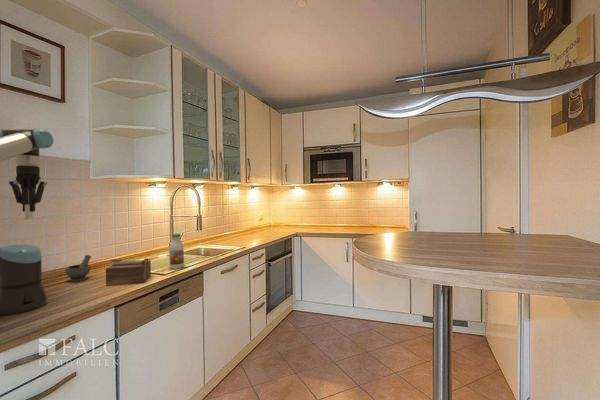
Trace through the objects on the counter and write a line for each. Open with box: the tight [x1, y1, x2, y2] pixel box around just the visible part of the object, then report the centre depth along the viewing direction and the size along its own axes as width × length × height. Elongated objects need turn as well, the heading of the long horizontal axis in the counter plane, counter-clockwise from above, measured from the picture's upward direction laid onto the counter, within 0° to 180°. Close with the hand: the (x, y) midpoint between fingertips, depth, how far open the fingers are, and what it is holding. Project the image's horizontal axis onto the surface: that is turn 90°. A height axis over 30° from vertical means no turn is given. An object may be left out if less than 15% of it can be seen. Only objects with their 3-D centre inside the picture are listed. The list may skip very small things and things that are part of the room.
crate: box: [105, 258, 152, 287], centre depth 143 cm, size 14×17×10 cm
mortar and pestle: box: [65, 254, 92, 283], centre depth 145 cm, size 11×9×12 cm
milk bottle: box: [168, 233, 185, 270], centre depth 168 cm, size 8×8×20 cm
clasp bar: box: [107, 259, 147, 264], centre depth 143 cm, size 4×17×1 cm, turn 105°
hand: (29, 219), depth 126 cm, fingers closed
